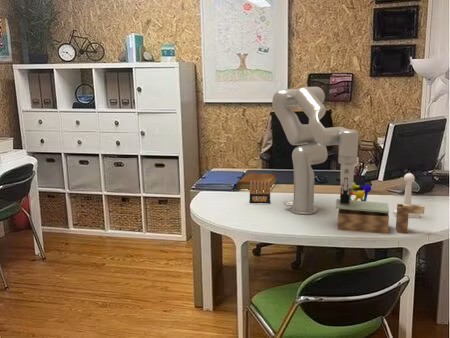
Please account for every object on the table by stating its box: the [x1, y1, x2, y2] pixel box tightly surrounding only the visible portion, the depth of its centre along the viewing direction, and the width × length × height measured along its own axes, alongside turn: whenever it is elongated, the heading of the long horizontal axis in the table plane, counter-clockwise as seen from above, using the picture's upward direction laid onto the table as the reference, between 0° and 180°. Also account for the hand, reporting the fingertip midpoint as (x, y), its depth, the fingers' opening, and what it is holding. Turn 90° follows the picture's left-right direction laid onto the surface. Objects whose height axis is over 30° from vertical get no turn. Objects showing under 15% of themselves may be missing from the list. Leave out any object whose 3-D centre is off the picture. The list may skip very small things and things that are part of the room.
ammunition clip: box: [249, 181, 271, 204], centre depth 229 cm, size 11×2×12 cm, turn 84°
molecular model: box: [349, 181, 372, 201], centre depth 218 cm, size 15×12×15 cm
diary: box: [236, 172, 278, 190], centre depth 265 cm, size 23×19×6 cm
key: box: [402, 203, 426, 215], centre depth 184 cm, size 8×2×3 cm, turn 73°
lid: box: [335, 186, 390, 214], centre depth 190 cm, size 21×11×7 cm, turn 73°
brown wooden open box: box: [337, 203, 409, 234], centre depth 189 cm, size 28×10×11 cm, turn 73°
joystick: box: [392, 172, 421, 219], centre depth 205 cm, size 11×8×20 cm
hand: (344, 201), depth 192 cm, fingers closed on lid, 4 cm apart
